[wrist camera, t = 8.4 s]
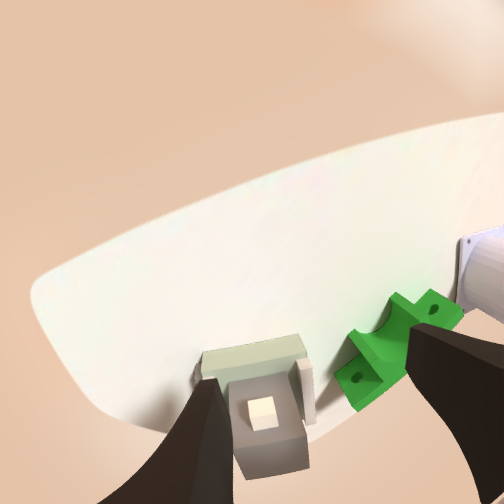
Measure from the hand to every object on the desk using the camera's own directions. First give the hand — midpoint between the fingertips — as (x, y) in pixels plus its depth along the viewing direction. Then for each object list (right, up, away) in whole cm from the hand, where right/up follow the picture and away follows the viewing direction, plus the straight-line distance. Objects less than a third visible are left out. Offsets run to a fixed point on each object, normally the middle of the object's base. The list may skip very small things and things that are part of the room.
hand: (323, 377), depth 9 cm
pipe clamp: (+8, -2, +12) cm, 15 cm away
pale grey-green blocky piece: (-2, -6, +12) cm, 13 cm away
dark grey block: (-2, -6, +9) cm, 11 cm away
